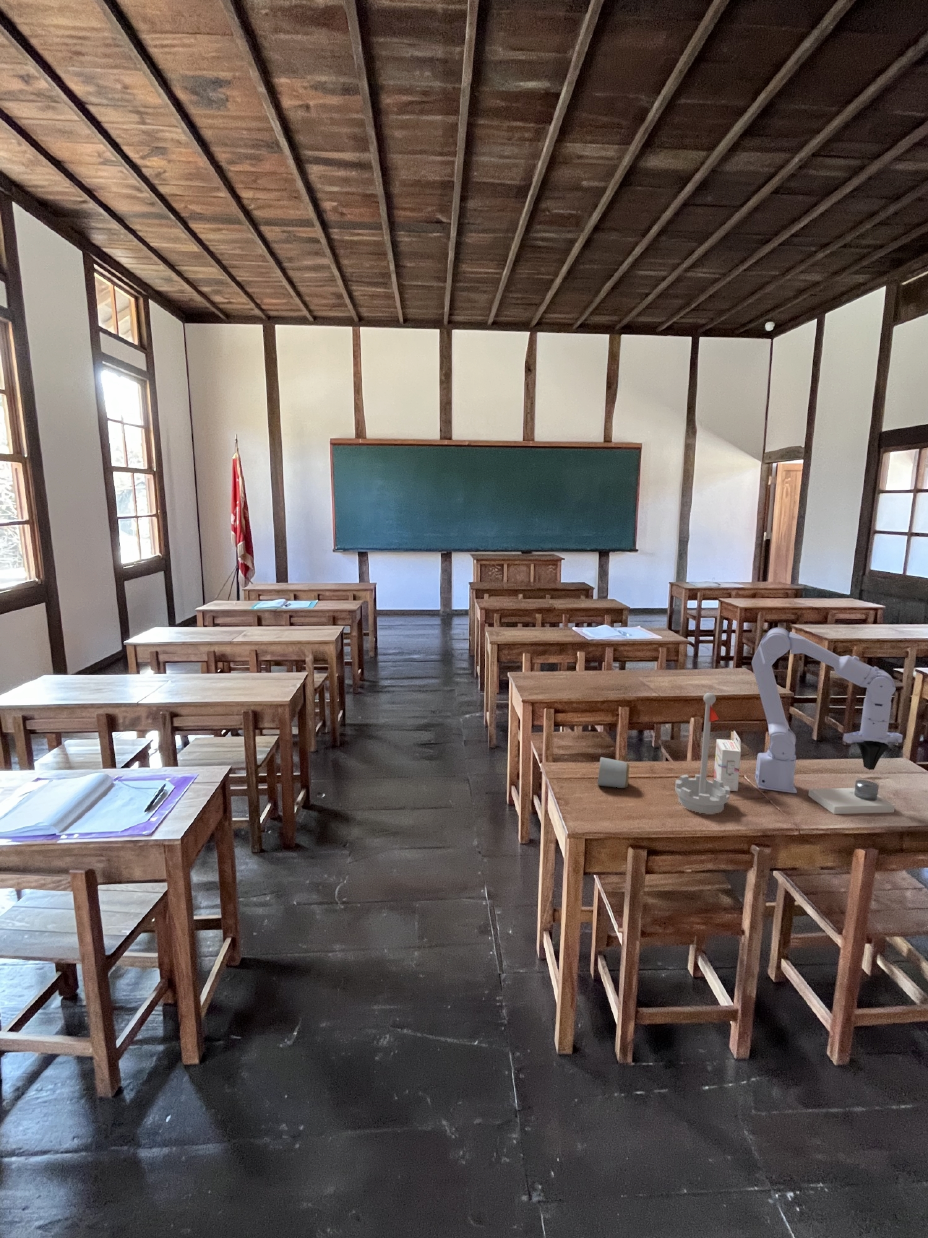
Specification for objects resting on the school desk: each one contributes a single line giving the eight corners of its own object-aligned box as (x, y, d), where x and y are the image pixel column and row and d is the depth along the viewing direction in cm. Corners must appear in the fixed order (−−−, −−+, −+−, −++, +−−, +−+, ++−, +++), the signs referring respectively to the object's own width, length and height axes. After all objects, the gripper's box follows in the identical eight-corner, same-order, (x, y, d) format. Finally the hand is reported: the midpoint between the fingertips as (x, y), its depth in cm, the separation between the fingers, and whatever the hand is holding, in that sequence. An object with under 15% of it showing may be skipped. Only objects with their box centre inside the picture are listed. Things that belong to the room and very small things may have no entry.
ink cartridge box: (712, 777, 170) (716, 728, 168) (730, 778, 170) (735, 729, 167) (718, 790, 162) (723, 739, 160) (738, 792, 161) (742, 740, 159)
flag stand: (666, 793, 160) (673, 686, 155) (712, 792, 161) (721, 685, 156) (688, 817, 147) (697, 701, 142) (738, 815, 148) (749, 700, 143)
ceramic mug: (628, 793, 160) (629, 766, 159) (597, 789, 162) (598, 762, 161) (627, 777, 170) (628, 752, 169) (598, 774, 172) (599, 749, 171)
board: (833, 814, 149) (834, 806, 149) (808, 796, 159) (809, 789, 159) (893, 812, 151) (894, 805, 150) (864, 794, 160) (865, 787, 160)
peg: (856, 805, 154) (858, 786, 153) (850, 797, 158) (853, 778, 157) (878, 808, 152) (881, 789, 151) (872, 800, 157) (875, 781, 156)
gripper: (859, 723, 147) (853, 775, 149) (915, 723, 148) (907, 774, 150) (840, 714, 154) (834, 764, 156) (892, 713, 155) (886, 763, 157)
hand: (868, 768), depth 154 cm, fingers closed
